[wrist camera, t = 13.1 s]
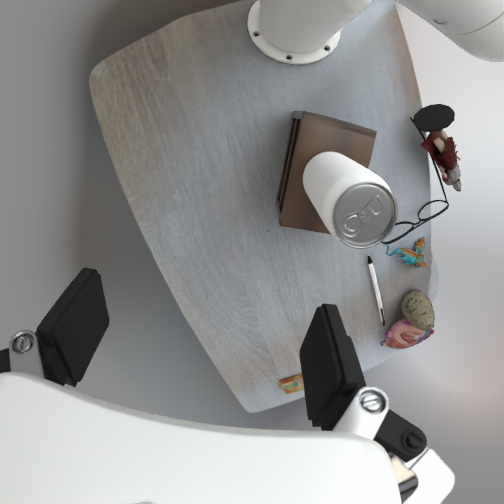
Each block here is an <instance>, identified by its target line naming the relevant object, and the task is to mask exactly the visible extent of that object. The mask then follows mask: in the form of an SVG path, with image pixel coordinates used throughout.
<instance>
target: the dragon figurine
mask: <svg viewBox="0 0 504 504" xmlns="http://www.w3.org/2000/svg"><path fill="white" fill-rule="evenodd" d="M419 240H420V241H419V242H416V241H415V243H416V245H415V246H414V247H415V252H414V251H412V250H410V249H404V248H399V249H396V250H395V251H394V252H393V253H392V254H388V249H389V246H388V245H387V244H385V245H386V246H387V247H388V249H387V252H386V254H387V255H389V256H392V255H394V254H395V253H397V252H398V253H403V254H404V255H405V256H403V257H400V258H399V259H402V260H406V261H407V262H405V261H404V264H414V266H415V268H418V267H421V266H422V267H426V268H427V264H426V263H424V262H423V258H424V255H423V256H422V253H423V252H422V253H421V254H417V252H418V251H423V250H424V246H425V242H424V237H423V238H422V239H420V238H419ZM421 256H422V257H421Z"/></svg>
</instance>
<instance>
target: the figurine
mask: <svg viewBox="0 0 504 504" xmlns="http://www.w3.org/2000/svg"><path fill="white" fill-rule="evenodd" d="M454 114H455V113H454V111H453V110H452V109H451V108H450V107H449V106H446V105H442V104H436V105H429V106H427V107H425V108H422V109H420V110H419V111H418V112H417V113H416V114H415V115H414V119H413V123H414V125H415V126H416V128H417V129H419V130H422V131H425V132H430V134H429V135H428V137H427V139H426V140H425V141H424V142H422V143H421V146H422V147H424V148H425V149H426V150H427V151H428V152H429V153H430V155H431V156H432V158H433V159H434V161H435V162H436V164H437V165H438V167H439V169H440V171H441V173H442V179H443V181H444V182H445V183H446V184H447V185H453V187H454V189H455V190H456V191H461V183H460V179H459V177H460V170H459V166H458V164H457V158H458V159H459V160H460V158H459V157H458V156H457V155H456V153H457V152H458V151H456V153H455V147H456V145H455V144H454V142H453V138H452V137H447V135H446V133H445V132H444V131H443V130H442V129H444V128H446V127H448V126H449V125H450V124H451V123H452V122H453V121H454Z"/></svg>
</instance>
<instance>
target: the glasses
mask: <svg viewBox="0 0 504 504" xmlns="http://www.w3.org/2000/svg"><path fill="white" fill-rule="evenodd" d="M410 119H411V121H412V122H413V119H412V118H411V117H410ZM418 130H419V129H418ZM419 132H420V134H421V136H422V138H423V140H424V141H425V138H424V136H423V134H422V132H421V130H419ZM429 154H430V153H429ZM430 156H431V155H430ZM431 158H432V156H431ZM432 161H433V164H434V167H435V169H436V172H437V175H438V178H439V181H440V184H441V187H442V190H443V193H444V196H445V199H446V195H445V192H444V188H443V185H442V182H441V178H440V175H439V173H438V170H437V167H436V164H435V161H434V159H433V158H432ZM435 201H442V202H445V203H447V204H448V202H447V199H446V201H443V200H434V201H431V202H428V203H427V204H425V205H424V206H423V207H422V208H421V209H420V210H419V212H418V218H419V213H420V212H421V210H422V209H423V208H424V207H425V206H426V205H428V204H430V203H432V202H435ZM448 207H449V204H448V205H447V206H446V207H445V208H444V209H443V210H442V211H440V212H439V213H437V214H435V215H433V216H431V217H429V218H426V219H420V218H419V220H420V221H419V222H418V223H415V224H414V223H412V222H407V221H404V222H399V223H396V224H395V225H399V224H412V225H413V226H412V228H411V229H410V230H408V231H407V232H406V233H404V234H403V235H401V236H399V237H397V238H395V239H393V240H391V241H388V242H381V243H383V244H391V243H393V242H395V241H397V240H399V239H400V238H402V237H404V236H405V235H407V234H408V233H409V232H411V231H412V230H414V229H415V228H417V227H418V226H420V225H422V224H423V223H425V222H427V221H428V220H430V219H432V218H434V217H436V216H438V215H439V214H441V213H443V212H444V211H445V210H446V209H448ZM421 221H424V222H422V223H421V224H419V223H420V222H421ZM417 224H419V225H417ZM414 225H417V226H416V227H414Z"/></svg>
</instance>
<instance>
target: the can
mask: <svg viewBox="0 0 504 504" xmlns="http://www.w3.org/2000/svg"><path fill="white" fill-rule="evenodd" d="M303 185H304V189H305V191H306V193H307V195H308V197H309V198H310V200H311V202H312V204H313V205H314V207H315V209H316V210H317V212H318V214H319V216H320V217H321V219H322V221H323V223H324V224H325V226H326V227H327V229H328V230H329V232H330V233H331V234H332V235H333V236H334V237H335V238H337V239H338V240H340V241H342V242H343V243H344V244H346V245H348V246H350V247H353V248H358V249H364V248H370V247H373V246H375V245H377V244H379V243H381V242H382V241H383V240H384V239H385V238H387V236H388V235H389V234H390V233H391V231H392V230H393V228H394V226H395V223H396V220H397V213H398V209H397V203H396V200H395V197H394V196H393V194H392V192H391V190H390V188H389V186H388V185H387V184H386V182H385V181H384V180H383V179H382V178H380V177H379V176H378V175H376V174H375V173H373V172H372V171H370V170H368V169H367V168H365V167H363V166H362V165H360V164H358V163H357V162H355V161H353V160H352V159H350V158H348V157H346V156H344V155H342V154H340V153H337V152H323V153H320V154H318V155H316V156H315V157H313V158H312V159H311V160H310V161H309V162H308V164H307V165H306V167H305V170H304V173H303Z"/></svg>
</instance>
